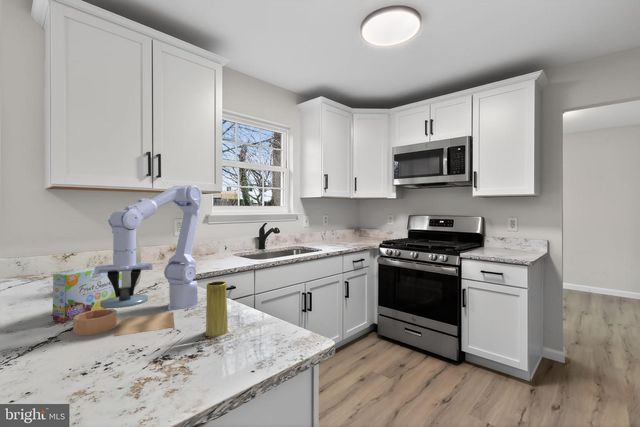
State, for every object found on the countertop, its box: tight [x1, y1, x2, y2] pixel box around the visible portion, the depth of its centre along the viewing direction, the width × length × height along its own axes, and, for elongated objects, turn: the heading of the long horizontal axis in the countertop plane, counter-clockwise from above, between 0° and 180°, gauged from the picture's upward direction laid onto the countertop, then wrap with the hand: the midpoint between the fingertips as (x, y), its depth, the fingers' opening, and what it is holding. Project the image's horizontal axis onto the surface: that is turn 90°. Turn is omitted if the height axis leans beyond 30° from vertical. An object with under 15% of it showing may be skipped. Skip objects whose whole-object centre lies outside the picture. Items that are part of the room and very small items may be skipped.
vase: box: [204, 280, 229, 338], centre depth 87 cm, size 6×6×14 cm
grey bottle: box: [122, 232, 142, 287], centre depth 138 cm, size 10×10×28 cm
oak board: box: [113, 311, 175, 337], centre depth 95 cm, size 15×15×1 cm
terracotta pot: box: [72, 308, 118, 336], centre depth 91 cm, size 10×10×4 cm
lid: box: [100, 287, 149, 309], centre depth 93 cm, size 12×12×4 cm
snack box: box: [52, 263, 122, 323], centre depth 107 cm, size 21×6×15 cm, turn 168°
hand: (124, 295), depth 93 cm, fingers closed on lid, 3 cm apart
